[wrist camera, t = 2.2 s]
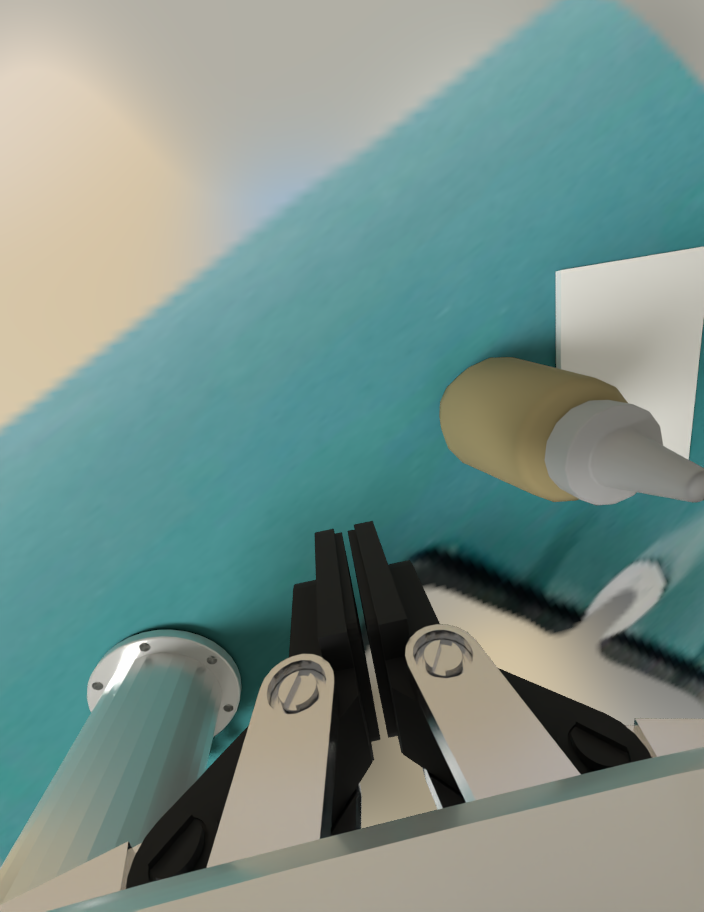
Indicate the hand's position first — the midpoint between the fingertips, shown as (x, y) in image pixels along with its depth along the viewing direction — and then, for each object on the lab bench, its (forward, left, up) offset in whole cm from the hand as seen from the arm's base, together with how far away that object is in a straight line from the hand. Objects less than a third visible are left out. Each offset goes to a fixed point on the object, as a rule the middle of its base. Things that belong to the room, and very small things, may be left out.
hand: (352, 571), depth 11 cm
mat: (0, -25, -19) cm, 32 cm away
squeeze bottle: (0, -12, -19) cm, 23 cm away
